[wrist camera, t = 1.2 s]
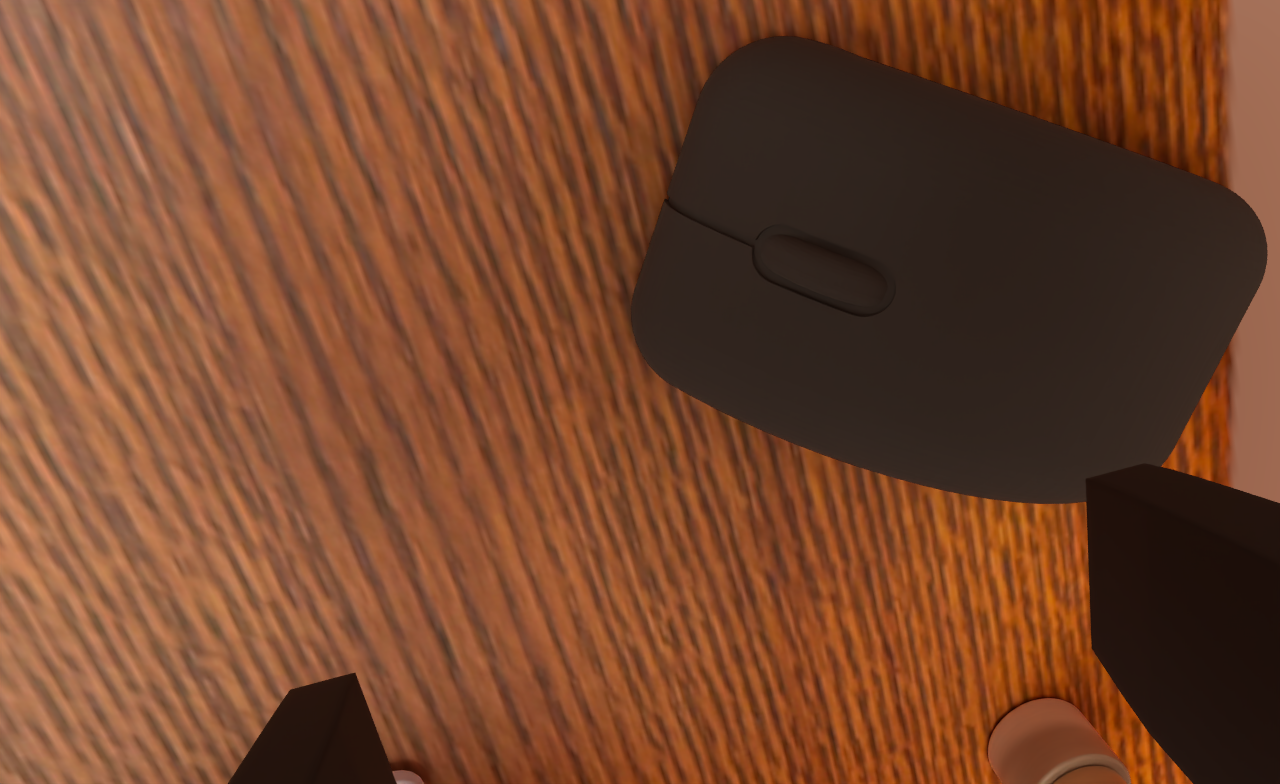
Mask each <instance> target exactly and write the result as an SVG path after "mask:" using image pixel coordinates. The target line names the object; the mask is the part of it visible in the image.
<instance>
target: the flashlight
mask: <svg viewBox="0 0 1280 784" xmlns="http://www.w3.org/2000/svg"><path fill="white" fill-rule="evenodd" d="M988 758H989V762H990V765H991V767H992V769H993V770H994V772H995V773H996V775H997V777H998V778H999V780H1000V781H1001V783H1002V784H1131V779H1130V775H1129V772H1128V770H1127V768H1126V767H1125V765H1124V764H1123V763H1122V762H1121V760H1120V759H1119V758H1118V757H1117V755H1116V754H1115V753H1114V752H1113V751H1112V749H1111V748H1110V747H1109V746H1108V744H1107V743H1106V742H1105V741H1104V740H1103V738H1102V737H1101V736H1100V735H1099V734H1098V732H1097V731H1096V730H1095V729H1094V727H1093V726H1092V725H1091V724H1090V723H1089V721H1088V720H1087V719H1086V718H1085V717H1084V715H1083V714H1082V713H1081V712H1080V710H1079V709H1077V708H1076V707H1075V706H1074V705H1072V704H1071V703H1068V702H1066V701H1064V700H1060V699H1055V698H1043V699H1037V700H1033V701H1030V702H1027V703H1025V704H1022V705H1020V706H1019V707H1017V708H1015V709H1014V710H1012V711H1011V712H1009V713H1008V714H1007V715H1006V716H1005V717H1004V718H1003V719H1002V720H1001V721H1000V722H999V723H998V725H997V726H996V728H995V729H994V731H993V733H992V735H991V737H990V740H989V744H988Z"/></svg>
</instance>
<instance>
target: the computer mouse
mask: <svg viewBox="0 0 1280 784" xmlns="http://www.w3.org/2000/svg"><path fill="white" fill-rule="evenodd" d="M667 195H668V196H669V199H665V200H664V203H663V206H662V209H661V212H660V215H659V218H658V221H657V224H656V227H655V230H654V233H653V236H652V239H651V242H650V245H649V248H648V251H647V254H646V257H645V260H644V263H643V266H642V269H641V272H640V275H639V278H638V281H637V284H636V287H635V290H634V293H633V298H632V306H631V320H632V328H633V333H634V336H635V340H636V343H637V345H638V347H639V349H640V351H641V353H642V355H643V357H644V359H645V360H646V362H647V363H648V364H649V366H650V367H651V368H652V369H653V370H654V371H655V372H656V373H657V374H658V375H659V376H660V377H661V378H662V379H663V380H665V381H666V382H668V383H669V384H671V385H672V386H674V387H676V388H678V389H680V390H681V391H683V392H685V393H687V394H688V395H690V396H692V397H694V398H696V399H698V400H700V401H702V402H704V403H706V404H707V405H709V406H711V407H713V408H715V409H717V410H719V411H721V412H723V413H725V414H728V415H730V416H732V417H734V418H736V419H738V420H740V421H742V422H745V423H747V424H749V425H751V426H753V427H756V428H758V429H760V430H762V431H765V432H767V433H769V434H772V435H774V436H777V437H779V438H781V439H784V440H786V441H789V442H791V443H794V444H796V445H799V446H801V447H804V448H807V449H809V450H812V451H814V452H817V453H820V454H822V455H825V456H828V457H831V458H834V459H837V460H840V461H843V462H845V463H848V464H851V465H854V466H857V467H860V468H864V469H867V470H870V471H873V472H877V473H880V474H883V475H886V476H890V477H894V478H897V479H901V480H905V481H908V482H912V483H916V484H919V485H923V486H927V487H932V488H936V489H940V490H945V491H949V492H954V493H959V494H964V495H969V496H975V497H981V498H987V499H994V500H1003V501H1011V502H1021V503H1036V504H1066V503H1078V502H1086V478H1090V477H1094V476H1098V475H1101V474H1105V473H1109V472H1113V471H1116V470H1120V469H1124V468H1128V467H1132V466H1135V465H1139V464H1143V463H1146V464H1151V465H1155V466H1159V467H1161V466H1162V465H1163V463H1164V462H1165V461H1166V459H1167V458H1168V457H1169V455H1170V454H1171V452H1172V451H1173V449H1174V447H1175V445H1176V443H1177V441H1178V439H1179V438H1180V436H1181V434H1182V432H1183V430H1184V428H1185V426H1186V424H1187V422H1188V421H1189V419H1190V417H1191V415H1192V413H1193V411H1194V409H1195V407H1196V405H1197V403H1198V402H1199V400H1200V398H1201V396H1202V394H1203V392H1204V390H1205V388H1206V386H1207V385H1208V383H1209V381H1210V379H1211V377H1212V375H1213V373H1214V371H1215V369H1216V368H1217V366H1218V364H1219V362H1220V360H1221V358H1222V356H1223V354H1224V352H1225V350H1226V349H1227V347H1228V345H1229V343H1230V341H1231V339H1232V337H1233V335H1234V333H1235V332H1236V330H1237V328H1238V326H1239V324H1240V322H1241V320H1242V318H1243V316H1244V314H1245V313H1246V310H1247V309H1248V307H1249V305H1250V303H1251V301H1252V299H1253V297H1254V296H1255V294H1256V292H1257V290H1258V288H1259V286H1260V284H1261V281H1262V279H1263V276H1264V273H1265V269H1266V264H1267V242H1266V237H1265V233H1264V230H1263V227H1262V225H1261V222H1260V220H1259V219H1258V217H1257V216H1256V214H1255V212H1254V211H1253V210H1252V208H1251V207H1250V206H1249V205H1248V204H1247V203H1246V202H1245V201H1244V200H1243V199H1242V198H1241V197H1240V196H1238V195H1237V194H1236V193H1234V192H1233V191H1231V190H1229V189H1228V188H1226V187H1224V186H1222V185H1220V184H1217V183H1215V182H1213V181H1210V180H1207V179H1205V178H1202V177H1200V176H1197V175H1195V174H1192V173H1189V172H1187V171H1184V170H1181V169H1179V168H1176V167H1173V166H1171V165H1168V164H1165V163H1162V162H1160V161H1157V160H1154V159H1152V158H1149V157H1146V156H1143V155H1141V154H1138V153H1135V152H1132V151H1129V150H1127V149H1124V148H1121V147H1118V146H1116V145H1113V144H1110V143H1107V142H1104V141H1102V140H1099V139H1096V138H1093V137H1090V136H1088V135H1085V134H1082V133H1079V132H1076V131H1073V130H1071V129H1068V128H1065V127H1062V126H1059V125H1057V124H1054V123H1051V122H1048V121H1045V120H1042V119H1040V118H1037V117H1034V116H1031V115H1028V114H1025V113H1022V112H1020V111H1017V110H1014V109H1011V108H1008V107H1005V106H1002V105H1000V104H997V103H994V102H991V101H988V100H985V99H982V98H979V97H977V96H974V95H971V94H968V93H965V92H962V91H959V90H956V89H953V88H950V87H948V86H945V85H942V84H939V83H936V82H933V81H930V80H927V79H924V78H922V77H919V76H916V75H913V74H910V73H907V72H904V71H901V70H898V69H895V68H892V67H890V66H887V65H884V64H881V63H878V62H875V61H872V60H869V59H866V58H863V57H860V56H858V55H855V54H853V53H850V52H848V51H845V50H843V49H840V48H838V47H835V46H832V45H828V44H825V43H822V42H818V41H814V40H810V39H805V38H800V37H793V36H777V37H770V38H765V39H761V40H758V41H755V42H752V43H750V44H748V45H746V46H744V47H742V48H740V49H738V50H737V51H735V52H734V53H732V54H731V55H730V56H728V57H727V58H726V59H725V60H724V61H723V62H722V63H721V64H720V65H719V66H718V67H717V68H716V69H715V70H714V72H713V73H712V74H711V76H710V77H709V79H708V80H707V82H706V83H705V85H704V87H703V89H702V91H701V93H700V96H699V99H698V101H697V104H696V107H695V110H694V113H693V116H692V119H691V122H690V125H689V128H688V131H687V134H686V137H685V140H684V143H683V146H682V149H681V152H680V155H679V158H678V161H677V164H676V167H675V170H674V173H673V176H672V179H671V182H670V185H669V188H668V191H667Z"/></svg>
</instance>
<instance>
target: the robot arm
mask: <svg viewBox="0 0 1280 784" xmlns="http://www.w3.org/2000/svg"><path fill="white" fill-rule="evenodd" d="M1086 503H1087V530H1088V558H1089V585H1090V612H1091V640H1092V649H1093V651H1094V652H1095V654H1096V655H1097V657H1098V659H1099V660H1100V662H1101V663H1102V665H1103V666H1104V668H1105V669H1106V671H1107V672H1108V674H1109V675H1110V677H1111V678H1112V680H1113V681H1114V683H1115V684H1116V686H1117V687H1118V689H1119V690H1120V692H1121V694H1122V695H1123V696H1124V698H1125V699H1126V701H1127V702H1128V704H1129V705H1130V706H1131V708H1132V709H1133V711H1134V712H1135V713H1136V715H1137V716H1138V718H1139V719H1140V721H1141V722H1142V723H1143V725H1144V726H1145V728H1146V729H1147V730H1148V732H1149V733H1150V735H1151V736H1152V737H1153V738H1154V739H1155V740H1156V741H1157V743H1158V744H1159V745H1160V746H1161V747H1162V748H1163V750H1164V751H1165V752H1166V753H1167V754H1168V755H1169V757H1170V758H1171V759H1172V760H1173V761H1174V762H1175V763H1176V764H1177V766H1178V767H1179V768H1180V769H1181V770H1182V771H1183V772H1184V774H1185V775H1186V776H1187V777H1188V778H1189V779H1190V780H1191V781H1192V783H1193V784H1280V503H1277V502H1274V501H1271V500H1268V499H1265V498H1262V497H1258V496H1256V495H1252V494H1249V493H1246V492H1243V491H1240V490H1237V489H1234V488H1231V487H1228V486H1224V485H1221V484H1218V483H1215V482H1212V481H1208V480H1205V479H1202V478H1199V477H1195V476H1192V475H1189V474H1185V473H1182V472H1178V471H1175V470H1171V469H1167V468H1163V467H1159V466H1155V465H1151V464H1146V463H1143V464H1139V465H1135V466H1132V467H1128V468H1124V469H1120V470H1116V471H1113V472H1109V473H1105V474H1101V475H1098V476H1094V477H1090V478H1086ZM228 784H424V782H423V781H422V779H421V778H420V776H418V775H416V774H415V773H413V772H410V771H406V770H398V771H392V770H391V767H390V764H389V762H388V759H387V756H386V754H385V751H384V748H383V746H382V743H381V740H380V738H379V735H378V732H377V730H376V727H375V724H374V722H373V719H372V716H371V713H370V711H369V708H368V705H367V703H366V700H365V697H364V695H363V692H362V689H361V687H360V684H359V681H358V679H357V676H356V673H352V674H348V675H344V676H340V677H337V678H333V679H329V680H325V681H322V682H318V683H314V684H310V685H306V686H303V687H299V688H295V689H291V690H290V691H289V692H288V694H287V695H286V697H285V698H284V699H283V701H282V702H281V704H280V705H279V707H278V708H277V710H276V711H275V713H274V714H273V716H272V717H271V719H270V720H269V722H268V723H267V725H266V726H265V728H264V729H263V731H262V732H261V734H260V735H259V737H258V738H257V740H256V741H255V743H254V744H253V746H252V748H251V749H250V751H249V752H248V754H247V755H246V757H245V758H244V760H243V761H242V763H241V764H240V766H239V767H238V769H237V770H236V772H235V773H234V775H233V776H232V778H231V780H230V781H229V783H228Z"/></svg>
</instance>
